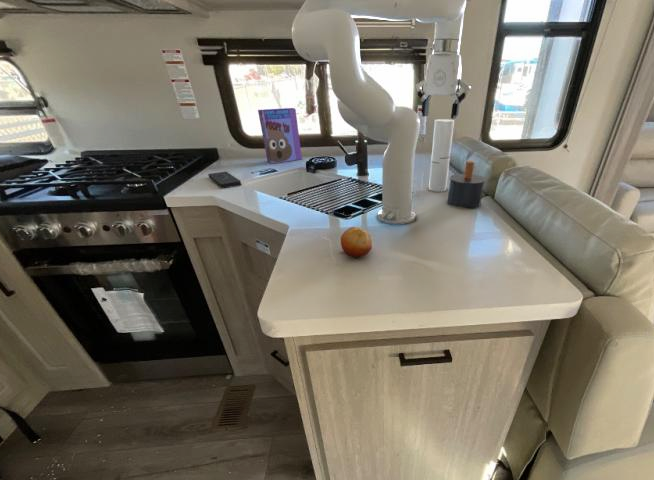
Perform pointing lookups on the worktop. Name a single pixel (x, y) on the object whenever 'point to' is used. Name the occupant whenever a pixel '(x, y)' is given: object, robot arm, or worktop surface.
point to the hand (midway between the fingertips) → (439, 117)
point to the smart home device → (224, 179)
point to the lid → (468, 176)
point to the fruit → (356, 242)
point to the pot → (465, 195)
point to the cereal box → (280, 135)
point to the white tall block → (440, 154)
